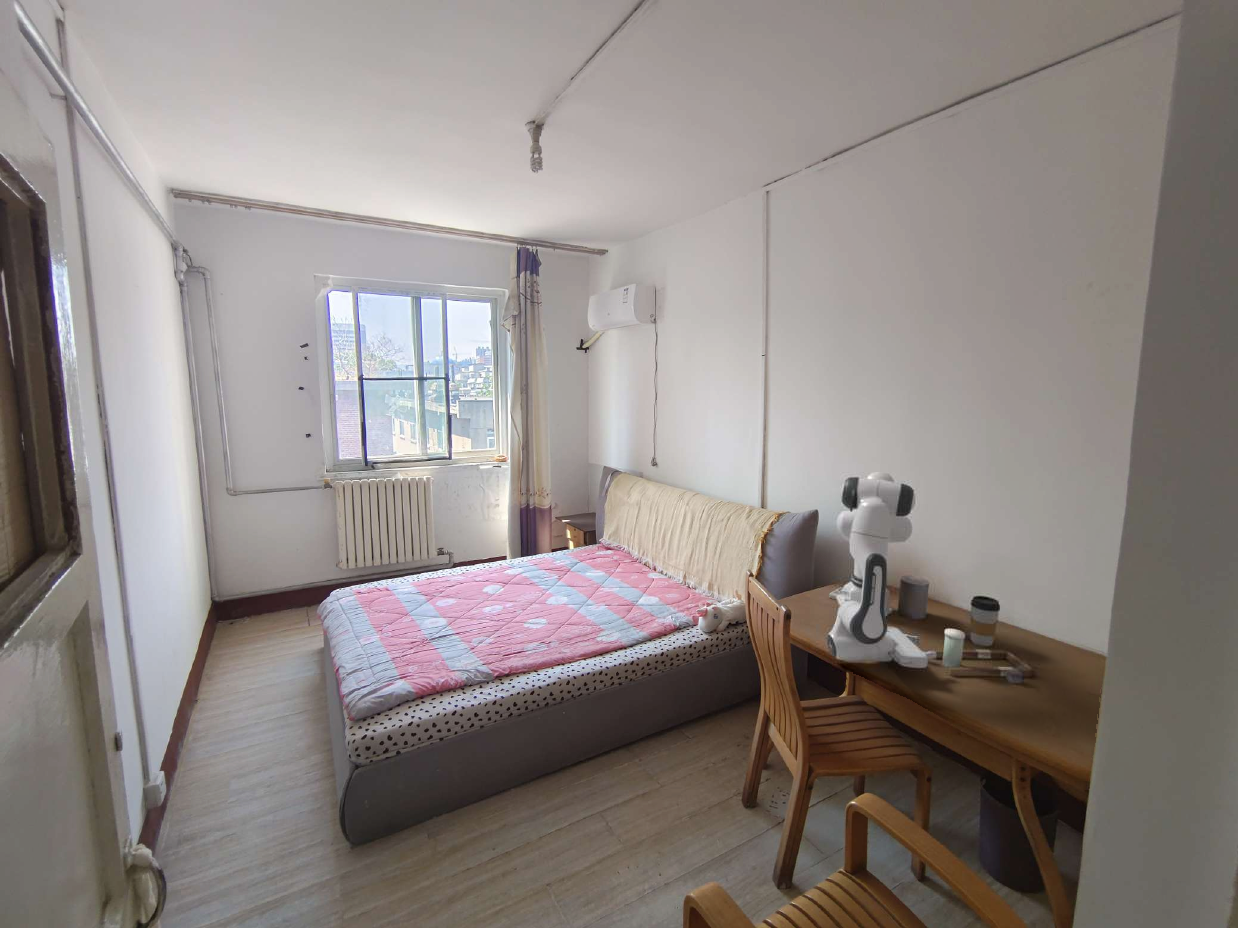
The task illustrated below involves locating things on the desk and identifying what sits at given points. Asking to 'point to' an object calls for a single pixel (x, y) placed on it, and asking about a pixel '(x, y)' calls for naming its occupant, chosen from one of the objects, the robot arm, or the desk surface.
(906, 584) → the pillar candle
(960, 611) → the desk surface
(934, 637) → the desk surface
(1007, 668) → the beam slot
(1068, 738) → the desk surface
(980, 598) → the coffee cup
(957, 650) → the mint green tumbler
